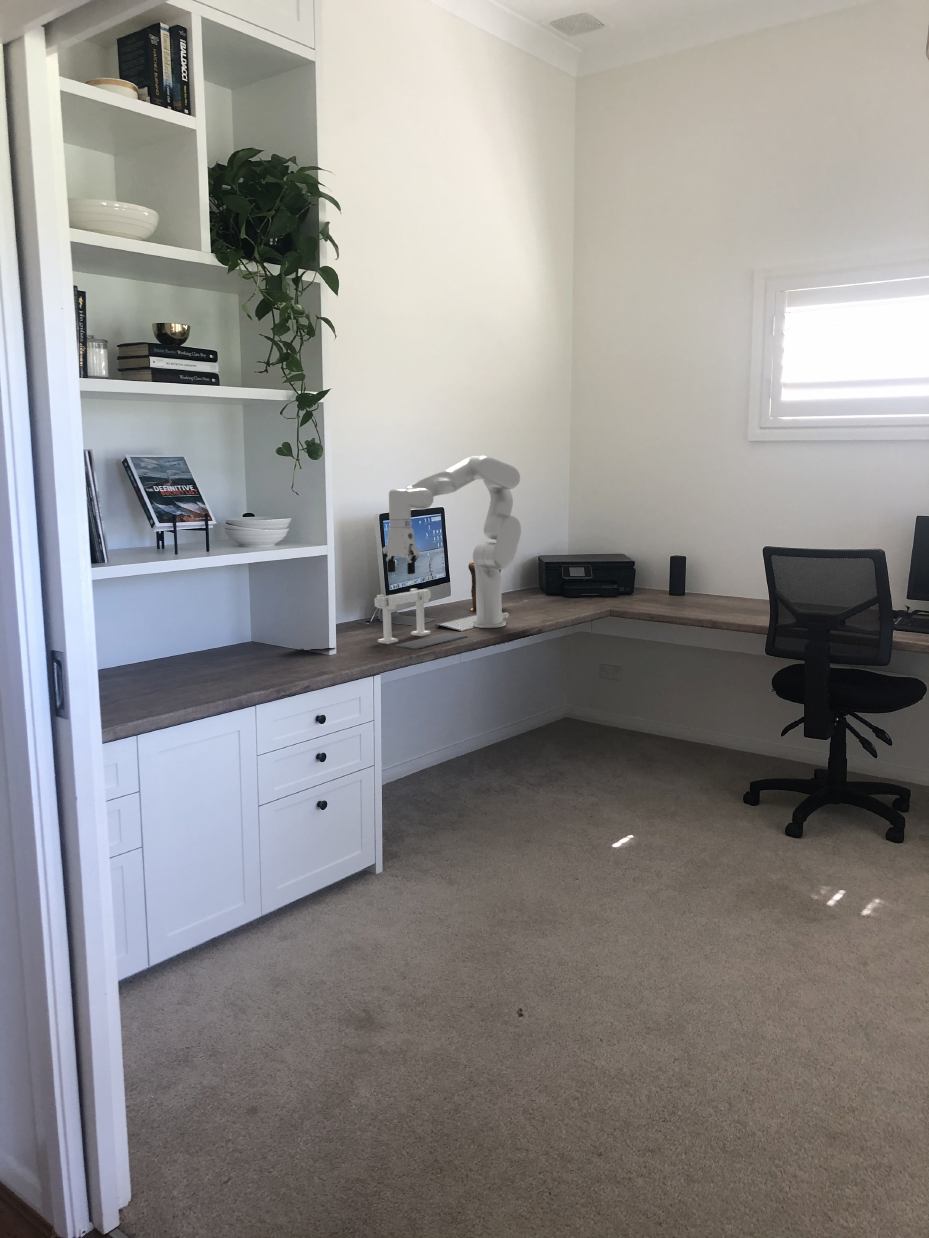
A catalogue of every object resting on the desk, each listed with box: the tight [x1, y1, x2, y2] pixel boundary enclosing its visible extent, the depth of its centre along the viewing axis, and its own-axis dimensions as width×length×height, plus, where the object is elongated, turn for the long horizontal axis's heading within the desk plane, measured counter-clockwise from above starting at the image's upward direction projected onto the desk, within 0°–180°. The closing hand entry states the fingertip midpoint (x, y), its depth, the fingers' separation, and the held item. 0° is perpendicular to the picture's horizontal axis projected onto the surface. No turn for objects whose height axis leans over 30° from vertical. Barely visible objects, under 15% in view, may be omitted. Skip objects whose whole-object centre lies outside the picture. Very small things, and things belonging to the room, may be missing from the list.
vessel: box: [467, 561, 502, 613], centre depth 398 cm, size 14×14×20 cm
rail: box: [374, 588, 431, 608], centre depth 338 cm, size 25×4×3 cm, turn 140°
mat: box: [393, 632, 468, 650], centre depth 332 cm, size 27×10×1 cm, turn 140°
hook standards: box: [376, 588, 432, 645], centre depth 339 cm, size 22×7×16 cm, turn 140°
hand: (401, 572), depth 336 cm, fingers open, 9 cm apart
